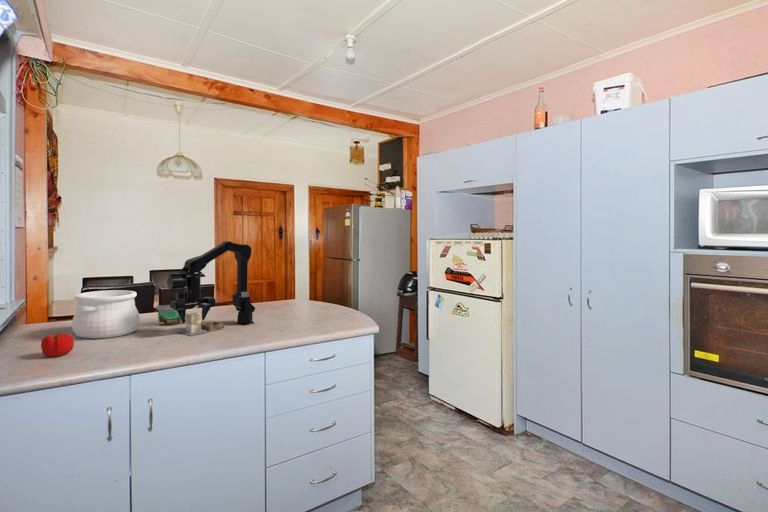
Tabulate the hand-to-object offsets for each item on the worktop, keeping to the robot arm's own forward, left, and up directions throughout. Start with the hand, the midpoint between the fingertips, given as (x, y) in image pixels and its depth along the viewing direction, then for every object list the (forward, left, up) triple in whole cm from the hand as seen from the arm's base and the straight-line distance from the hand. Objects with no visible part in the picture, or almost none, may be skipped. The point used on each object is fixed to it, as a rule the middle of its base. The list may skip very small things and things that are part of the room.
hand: (193, 321), depth 181 cm
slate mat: (0, 0, -5) cm, 5 cm away
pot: (+24, -27, -5) cm, 37 cm away
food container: (-2, -22, -5) cm, 23 cm away
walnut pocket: (-9, 0, -5) cm, 10 cm away
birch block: (0, 0, -4) cm, 4 cm away
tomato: (+48, -6, -5) cm, 49 cm away
